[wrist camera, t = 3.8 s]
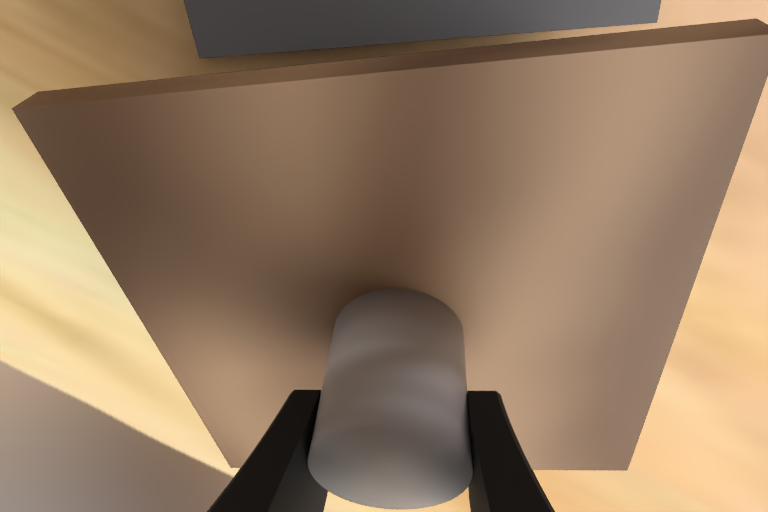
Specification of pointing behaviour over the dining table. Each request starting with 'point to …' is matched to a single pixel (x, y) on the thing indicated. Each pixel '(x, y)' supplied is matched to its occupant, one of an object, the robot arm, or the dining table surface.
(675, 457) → the dining table surface
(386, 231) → the lid
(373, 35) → the mat
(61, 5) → the dining table surface
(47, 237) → the dining table surface
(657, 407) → the dining table surface
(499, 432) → the robot arm
